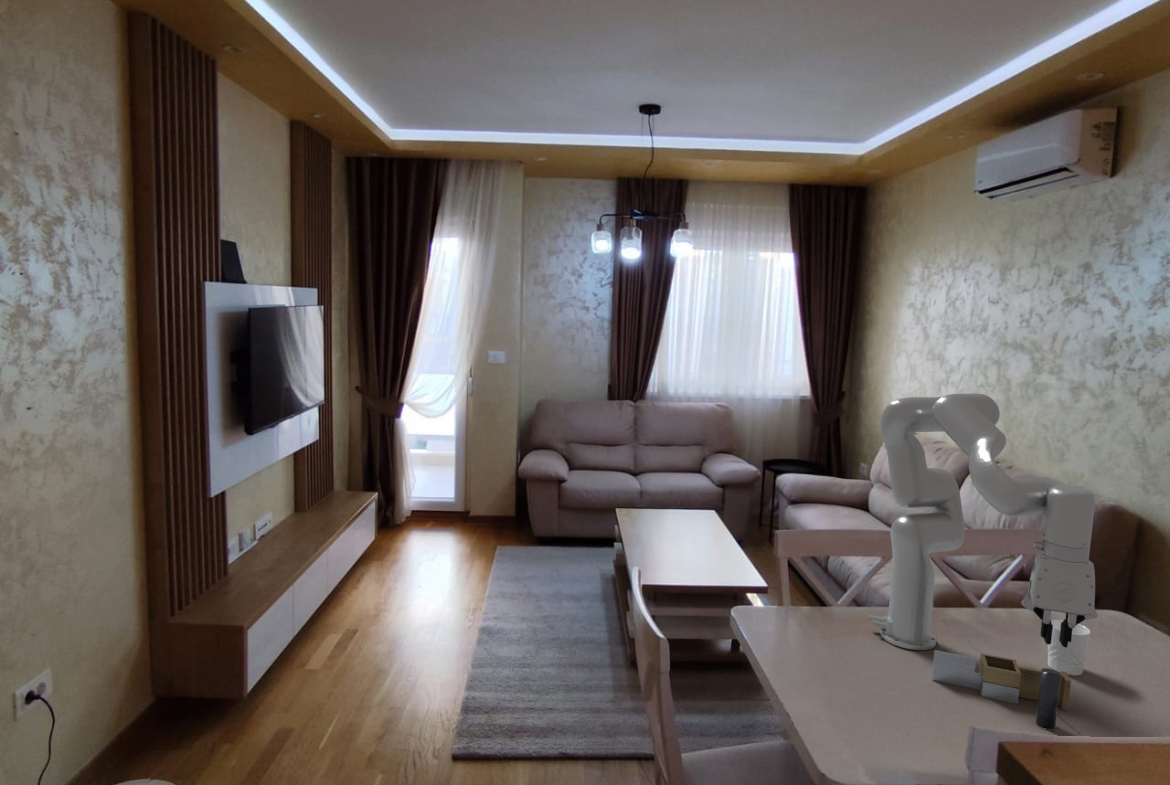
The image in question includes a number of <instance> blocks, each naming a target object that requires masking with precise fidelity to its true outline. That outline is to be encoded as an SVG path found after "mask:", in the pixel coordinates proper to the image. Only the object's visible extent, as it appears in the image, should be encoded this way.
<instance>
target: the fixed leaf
mask: <svg viewBox="0 0 1170 785" xmlns="http://www.w3.org/2000/svg"><path fill="white" fill-rule="evenodd" d="M932 660H933V661H932V672H931V680H932V681H936V682H940V683H945V684H949V685H955V686H960V687H964V688H968V689H969V688H970V689H975V690H979V692H980V694H981V697H985V698H988V699H994V700H999V701H1003V702H1009V703H1014V704H1019V698H1020V697H1019V688H1018V687H1013V686H1008V685H1003V684H998V683H993V682H988V681H983V678H982V674H981V670H980V667H979V669H978V672H976V664H977V659H976V657H973V656H968V655H963V654H957V653H953V652H946V651H942V650H936V649H934V651H933V659H932Z"/></svg>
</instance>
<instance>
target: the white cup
mask: <svg viewBox="0 0 1170 785" xmlns="http://www.w3.org/2000/svg"><path fill="white" fill-rule="evenodd" d="M1050 620H1051V624H1052V625H1053V630H1052V639H1051V644H1050V645H1049V644H1047V665H1048V666H1049V669H1053V670H1056V671H1058V672H1059V673H1061V671H1064V672H1067V674H1068V676H1080V675H1083V674H1084V666H1085V663H1086V660H1087V655H1088V648H1089V643H1090V637H1091V633H1092V632H1091V630H1090V628H1088V627H1087V626H1085V625H1083V624H1081V623H1079V624H1077V625H1076V626H1075V628H1073V629H1072V638H1071V642H1068V645H1067V648H1066V647H1063V646H1062V644H1061V643H1060V641H1059V638H1060V629H1061V622H1062V621H1064V620H1065V619H1050Z"/></svg>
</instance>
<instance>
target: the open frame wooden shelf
mask: <svg viewBox="0 0 1170 785" xmlns="http://www.w3.org/2000/svg"><path fill="white" fill-rule="evenodd" d="M979 668H980V670H981V674H982V678H983V681H988V682H993V683H998V684H1003V685H1008V686H1013V687H1018V688H1019V697H1018V698H1023V699H1028V700H1032V701H1033V700H1034V701H1037V702H1038V698H1039V689H1040V680H1041V671H1042V669H1037V668H1032V667H1025V666H1021V665H1018V662H1017V661H1016V659H1013V658H1008V657H1007V658H1006V657H1002V656H996V655H993V654H991V655H990V654H986V653H980V657H979ZM1059 673H1060V672H1059ZM1060 674H1061V681H1060V689H1059V698H1058V706H1060V707H1061V709H1062V710H1065V711H1068V710H1069V703H1070V702H1069V700H1070V692H1071V684H1072V680H1071V679H1070V675H1068V674H1067V672H1064V671H1061V673H1060Z"/></svg>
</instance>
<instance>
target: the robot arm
mask: <svg viewBox="0 0 1170 785" xmlns="http://www.w3.org/2000/svg"><path fill="white" fill-rule="evenodd" d="M999 420H1000V408H999V405H998V404H997V402H995V400H994V399H993V398H992V397H990V396H988V395H986V394H984V393H983V394H982V393H950V394H946V395H943V396H942V397H941V396H935V397H934V396H933V397H932V396H929V397H928V396H927V397H925V396H924V397H922V396H915V397H911V396H910V397H903V398H902V397H901V398H898V399H895V400H893V401H890V402H889V403H888V404H887V405H886V406H885V407H884V409H883V411H882V413H881V417H880V431H881V436H882V440H883V442H884V446H885V450H886V454H887V460H888V461H887V462H888V470H889V476H890V485H891V492H892V497H893V499H894V501H895V503H896V504H897V505H898V506H900V507H902V508H906V509H920V508H922V509H924V508H928V510H929V512H921V513H920V512H919V513H918V512H917V513H910V514H909V513H908V514H904V515H901V516H899V517H897V518H895V520H894V521H893V522H892V524H891V526H890V542H891V549H892V562H891V563H892V564H891V565H892V566H891V579H890V593H889V603H888V604H889V605H888V612H887V613H886V615H885V616H884V615H883V616H876V615H873V614H872V615H871V614H868V617H867V618H868V621H867V622H868V624H869V623H870V624H873V625H872V626H873V627H874V628H880V630H879V631H880V632H879V634H880V636H881V638H882V639H884V640H885V641H886V642H888V643H890V644H891V645H894V646H897V647H899V648H903V649H907V650H913V651H927V650H931V649H934V648H935V647H936V645H937V639H936V637H935V635H934V634H932V632H931V622H932V610H933V601H934V600H933V598H934V590H935V589H934V587H935V576H936V574H935V573H936V572H935V569H934V565H933V563H932V562H931V558H930V556H929V555H930V554H933V553H941V552H951V551H955V550H957V549H959V548H960V547H961V546H962V545H963V543H964V541H965V537H966V535H965V534H966V531H965V530H966V529H965V528H966V526H965V521H964V514H963V506H962V499H961V493H960V487H959V484H958V481H956V478H955V477H954V475H952V473H950V472H949V471H948V470H946V469H943V468H938V467H930V468H929V467H928V465H927V460H926V453H925V452H926V451H925V449H924V446H923V445H922V443H921V441H920V440H919V439H918V438H917V437H916V436H915V433H930V432H934V433H936V432H944V433H945V434H946V435H947V436H948V437H949V438H950V439H951V440H952V441H953V443H955V444H956V445H957V447H958V448H959V449H960V450H961V451H962V452H963V453H964V455H966V457H967V458H968V460H969V462H968V471H969V474H970V476H969V477H970V479H971V482H972V484H973V486H974V488H975V489H976V491H977V492H978V493H979V494H980V495H981V497H982V498H983V499H984V500H985V501H986V502H987V503H988V504H989V505H990V506H991V507H992V508H993V509H995V510H996V511H997V512H998V513H1000V514H1002V515H1004V516H1007V517H1013V518H1015V517H1029V516H1044V522H1043V523H1044V524H1043V532H1042V533H1043V534H1042V537H1041V540H1039V541H1033V542H1032V545H1033V549H1037V550H1039V551H1040V552H1038V553H1037V554H1036V556H1035V560H1034V562H1033V565H1032V570H1031V572H1030V578H1029V583H1028V591H1027V593H1026V594H1025V596H1024V597H1023V599H1022V600H1021V602H1020V603H1021V605H1022V606H1023V607H1024V609H1025V608H1026V609H1027V610H1029V611H1031V612H1034V613H1035V615H1036V616H1037V617H1038V618H1039V619H1040V620H1041V624H1040V626H1041V627H1040V637H1041V638H1043V640H1044V642H1045V645H1048V644H1049V645H1050V644H1051V639H1052V630H1053V625H1052V624H1051V620H1052V619H1051V617H1052V611H1053V612H1059V613H1064V614H1065V615H1064V619H1063V620H1064V621H1062V622H1061V629H1060V638H1059V641H1060V643H1061V644H1062V646H1063V647H1066V648H1067V645H1068V642H1071V638H1072V629H1073V628H1075V626H1076V625H1077V624H1081V623H1082V622H1084V621H1088V620H1094V619H1095V620H1096V619H1097V618H1098V613H1097V610H1096V608H1095V600H1096V599H1095V598H1096V574H1095V573H1096V571H1095V566H1094V563H1093V561H1091V560H1090V552H1091V542H1092V533H1093V523H1094V517H1095V506H1096V496H1095V495H1094V493H1093V492H1092V491H1090V490H1088V489H1087V488H1082V487H1078V486H1072V485H1071V486H1070V485H1068V484H1065V483H1063V482H1061V481H1058V480H1056V479H1055V478H1051V477H1047V476H1035V477H1032V476H1031V477H1014V478H1013V477H1012V478H1011V477H1010V476H1009V475H1008V474H1007V473H1006V472H1005V471H1004V469H1003V468H1002V467H1000V466H999V464H998V463H997V461H996V460H995V458H996V457H998V456H999V455H1000V454H1001V453H1002V451H1003V450H1004V448H1005V447H1006V445H1007V438H1006V435H1005V434H1004V433H1003V432H1002V431H1001V430H1000V428H999V427H997V426H996V425H997V423H999Z"/></svg>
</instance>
